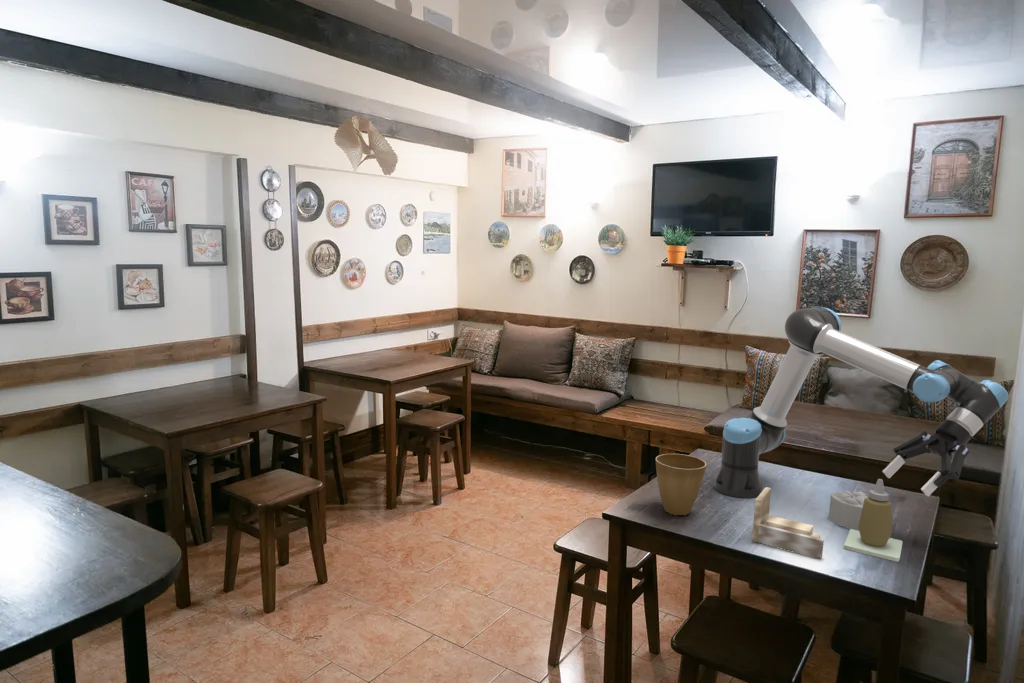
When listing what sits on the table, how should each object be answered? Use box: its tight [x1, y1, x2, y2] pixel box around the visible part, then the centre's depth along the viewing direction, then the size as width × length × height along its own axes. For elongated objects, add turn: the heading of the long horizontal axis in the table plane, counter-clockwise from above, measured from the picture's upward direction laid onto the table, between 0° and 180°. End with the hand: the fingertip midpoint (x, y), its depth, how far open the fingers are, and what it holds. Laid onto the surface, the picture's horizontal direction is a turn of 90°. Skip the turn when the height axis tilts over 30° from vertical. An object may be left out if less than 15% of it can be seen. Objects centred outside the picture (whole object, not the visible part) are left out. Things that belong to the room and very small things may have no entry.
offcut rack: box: [751, 487, 825, 560], centre depth 180 cm, size 18×12×12 cm
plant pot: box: [655, 453, 707, 516], centre depth 199 cm, size 15×15×16 cm
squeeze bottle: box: [858, 478, 893, 547], centre depth 178 cm, size 8×8×18 cm
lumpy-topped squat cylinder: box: [828, 490, 869, 531], centre depth 195 cm, size 10×13×9 cm
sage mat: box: [843, 528, 904, 563], centre depth 179 cm, size 13×13×1 cm
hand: (904, 483), depth 178 cm, fingers open, 13 cm apart
